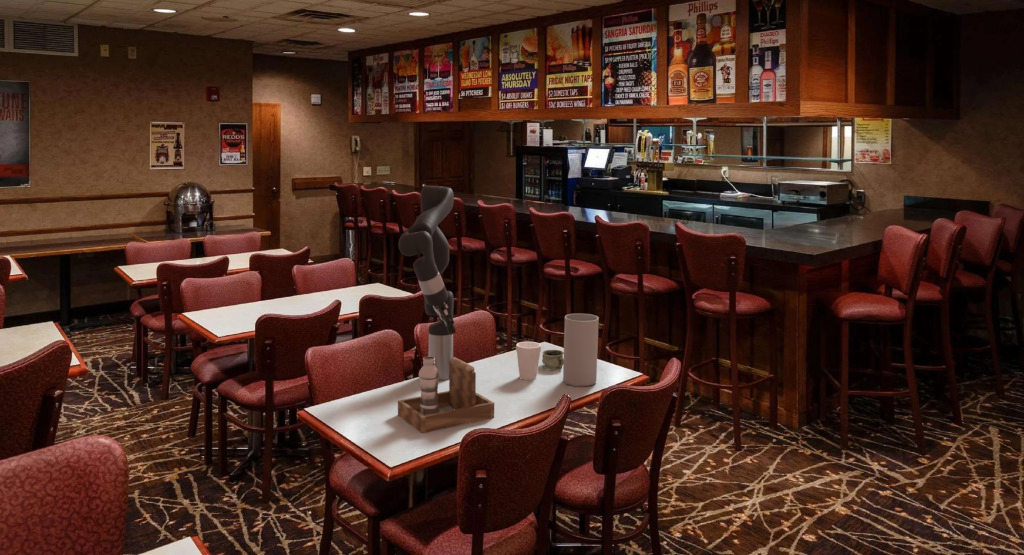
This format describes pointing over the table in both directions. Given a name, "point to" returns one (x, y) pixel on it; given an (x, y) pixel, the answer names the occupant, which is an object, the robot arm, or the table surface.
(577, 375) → the cylinder vase
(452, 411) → the wooden box
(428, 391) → the plastic bottle
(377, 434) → the table surface
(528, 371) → the foam cup
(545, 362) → the vessel
